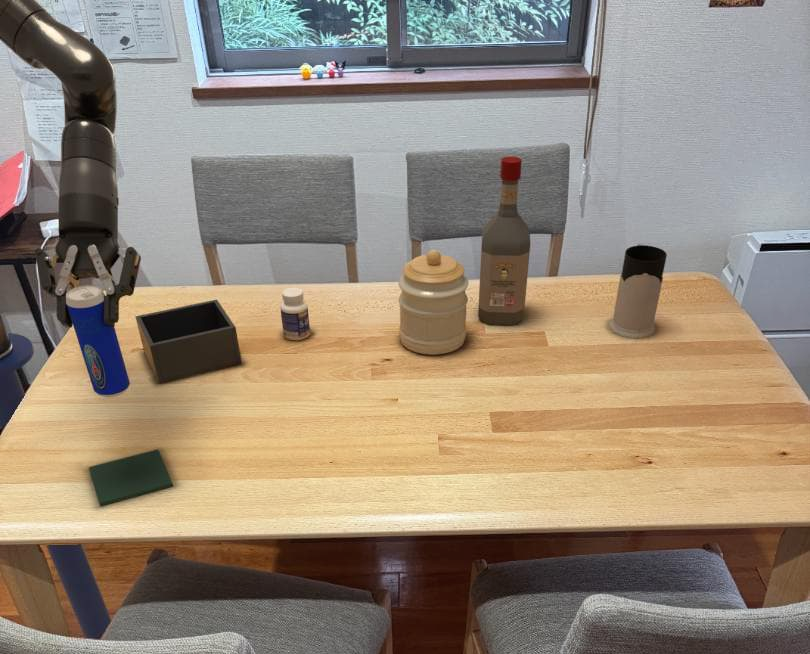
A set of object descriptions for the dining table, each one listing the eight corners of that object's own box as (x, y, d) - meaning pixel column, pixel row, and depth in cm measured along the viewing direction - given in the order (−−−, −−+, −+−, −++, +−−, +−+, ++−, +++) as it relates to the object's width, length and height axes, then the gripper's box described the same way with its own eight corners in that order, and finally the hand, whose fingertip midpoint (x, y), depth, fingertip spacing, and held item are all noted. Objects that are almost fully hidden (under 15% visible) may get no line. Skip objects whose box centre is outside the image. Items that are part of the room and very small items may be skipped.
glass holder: (610, 336, 157) (623, 261, 147) (606, 304, 168) (618, 232, 158) (656, 339, 156) (672, 263, 146) (649, 306, 167) (664, 233, 157)
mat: (100, 506, 121) (99, 503, 120) (89, 470, 128) (88, 467, 127) (173, 486, 124) (172, 483, 124) (158, 451, 131) (158, 448, 131)
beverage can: (87, 390, 118) (56, 293, 108) (118, 376, 121) (90, 280, 111) (106, 403, 115) (76, 304, 105) (137, 388, 118) (111, 291, 108)
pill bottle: (305, 342, 158) (300, 299, 152) (279, 339, 158) (274, 296, 153) (314, 329, 161) (309, 287, 155) (289, 327, 162) (284, 284, 156)
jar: (475, 330, 160) (479, 242, 148) (452, 361, 151) (455, 270, 139) (414, 319, 164) (413, 232, 152) (389, 349, 155) (386, 259, 143)
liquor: (523, 326, 161) (537, 168, 141) (477, 325, 162) (485, 167, 142) (522, 305, 168) (536, 152, 148) (478, 304, 169) (486, 151, 148)
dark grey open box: (158, 383, 147) (149, 345, 142) (144, 352, 155) (135, 316, 150) (241, 364, 152) (235, 326, 146) (223, 335, 160) (216, 299, 155)
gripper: (22, 190, 106) (21, 317, 105) (131, 188, 106) (131, 315, 105) (48, 216, 114) (47, 335, 113) (150, 214, 114) (149, 333, 113)
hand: (88, 325), depth 109 cm, fingers closed on beverage can, 5 cm apart
